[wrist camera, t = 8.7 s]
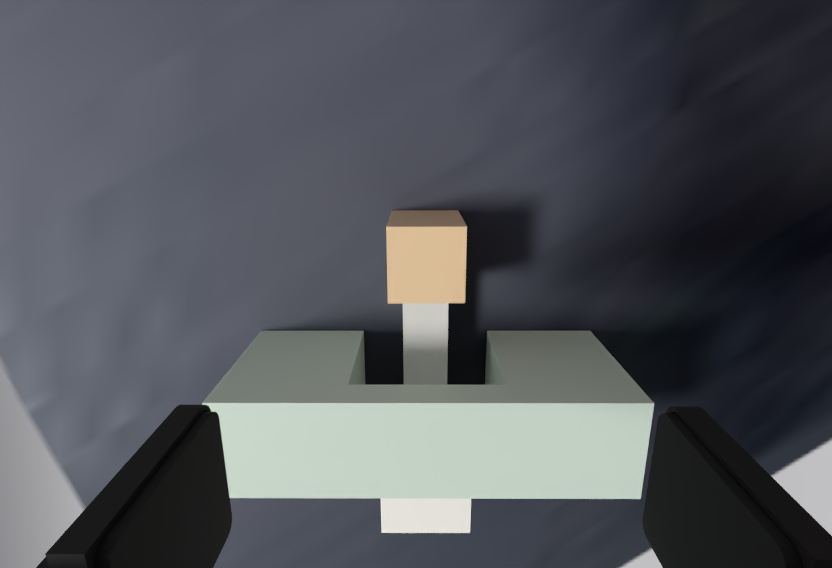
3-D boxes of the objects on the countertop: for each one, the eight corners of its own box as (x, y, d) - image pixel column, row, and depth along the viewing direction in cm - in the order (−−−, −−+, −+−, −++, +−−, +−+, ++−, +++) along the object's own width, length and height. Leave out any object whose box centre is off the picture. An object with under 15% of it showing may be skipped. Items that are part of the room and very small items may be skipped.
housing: (261, 330, 25) (202, 402, 18) (589, 330, 25) (654, 403, 18) (268, 404, 26) (215, 497, 19) (582, 404, 26) (640, 498, 19)
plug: (381, 210, 23) (372, 226, 19) (469, 210, 23) (480, 226, 19) (387, 473, 27) (381, 536, 23) (462, 473, 27) (470, 536, 23)
